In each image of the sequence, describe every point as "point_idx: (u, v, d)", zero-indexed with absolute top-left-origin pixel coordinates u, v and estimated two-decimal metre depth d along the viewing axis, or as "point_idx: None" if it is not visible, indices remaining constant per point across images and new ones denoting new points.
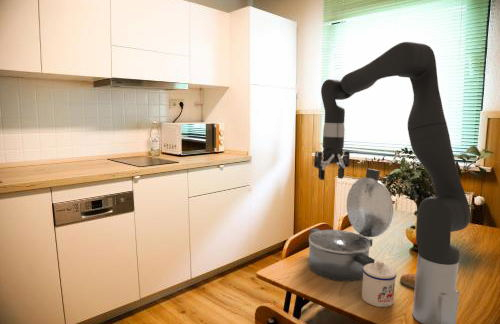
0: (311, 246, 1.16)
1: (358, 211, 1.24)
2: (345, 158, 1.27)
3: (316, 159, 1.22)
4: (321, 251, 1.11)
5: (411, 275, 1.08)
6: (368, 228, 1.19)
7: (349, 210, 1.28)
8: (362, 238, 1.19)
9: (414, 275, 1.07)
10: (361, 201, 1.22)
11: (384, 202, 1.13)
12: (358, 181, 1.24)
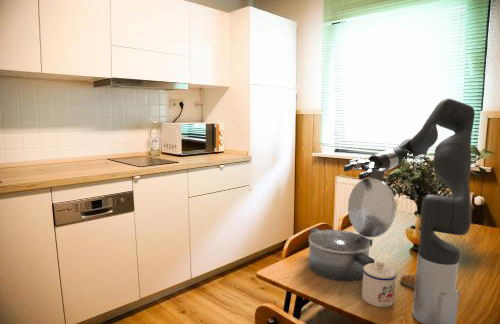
0: (311, 246, 1.16)
1: (360, 211, 1.24)
2: None
3: None
4: (321, 251, 1.11)
5: (411, 275, 1.07)
6: (369, 228, 1.19)
7: (350, 210, 1.28)
8: (362, 238, 1.19)
9: (414, 275, 1.07)
10: (364, 201, 1.23)
11: (387, 202, 1.13)
12: (362, 182, 1.25)
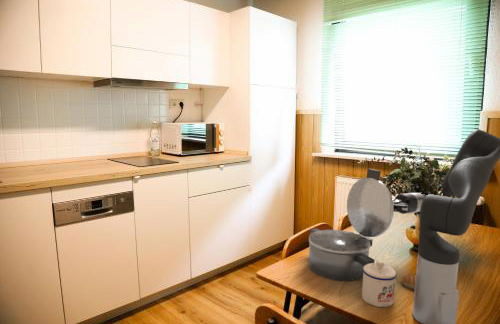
0: (311, 246, 1.16)
1: (358, 211, 1.24)
2: None
3: None
4: (321, 251, 1.11)
5: (412, 277, 1.06)
6: (368, 228, 1.19)
7: (349, 210, 1.28)
8: (362, 238, 1.19)
9: (415, 277, 1.06)
10: (362, 201, 1.23)
11: (385, 202, 1.13)
12: (359, 181, 1.25)
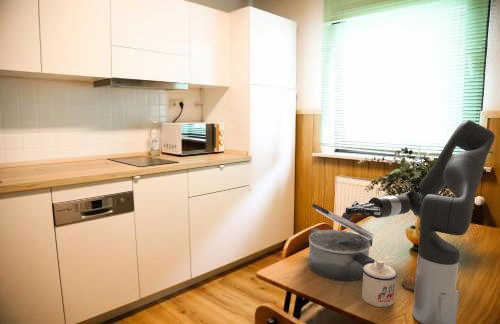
0: (311, 246, 1.16)
1: None
2: None
3: None
4: (321, 251, 1.11)
5: (413, 278, 1.06)
6: (361, 234, 1.18)
7: None
8: (362, 238, 1.19)
9: None
10: None
11: None
12: (317, 210, 1.19)
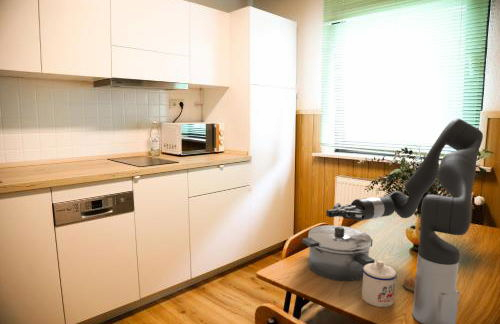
0: None
1: None
2: None
3: None
4: (321, 251, 1.11)
5: (414, 279, 1.05)
6: None
7: None
8: None
9: None
10: None
11: None
12: None
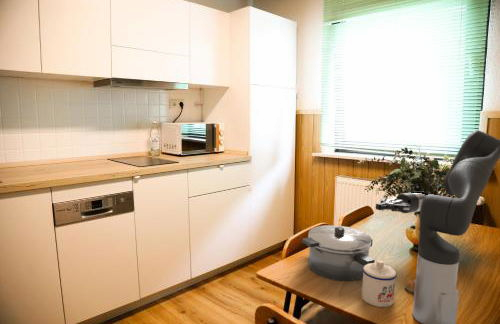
0: None
1: None
2: None
3: None
4: (321, 251, 1.11)
5: None
6: None
7: None
8: None
9: None
10: None
11: None
12: None
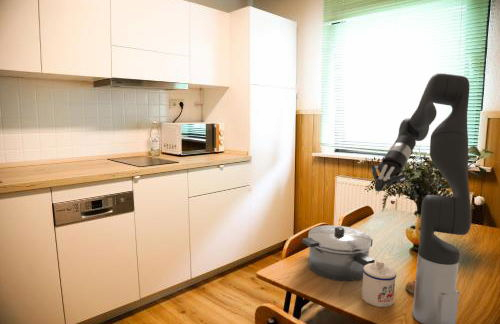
0: None
1: None
2: None
3: (372, 172, 1.25)
4: (321, 251, 1.11)
5: None
6: None
7: None
8: None
9: None
10: None
11: None
12: None
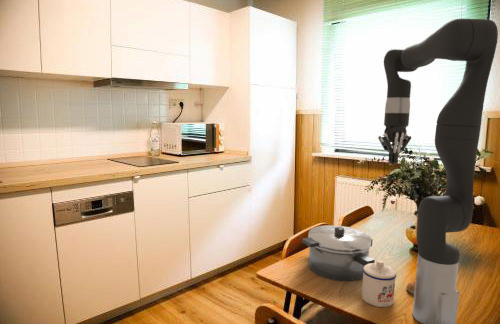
0: None
1: None
2: (403, 141, 1.14)
3: (383, 144, 1.12)
4: (321, 251, 1.11)
5: None
6: None
7: None
8: None
9: None
10: None
11: None
12: None
